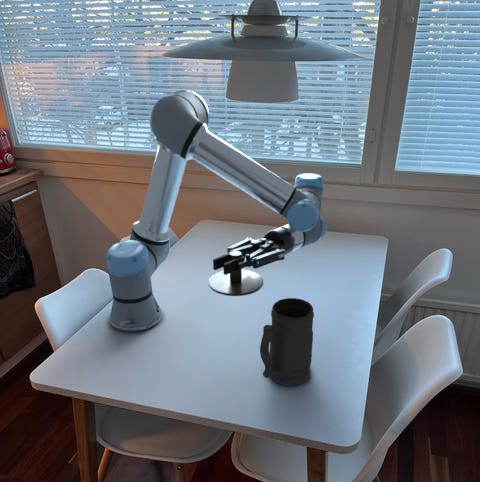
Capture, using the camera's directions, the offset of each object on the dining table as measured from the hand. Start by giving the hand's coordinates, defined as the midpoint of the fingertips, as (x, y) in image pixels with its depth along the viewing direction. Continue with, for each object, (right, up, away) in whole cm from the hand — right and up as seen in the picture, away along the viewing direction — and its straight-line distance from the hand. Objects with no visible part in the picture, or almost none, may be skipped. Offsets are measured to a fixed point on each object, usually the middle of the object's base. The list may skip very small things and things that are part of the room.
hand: (219, 267), depth 114 cm
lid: (+4, -3, +7) cm, 8 cm away
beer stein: (+16, -28, +6) cm, 32 cm away
